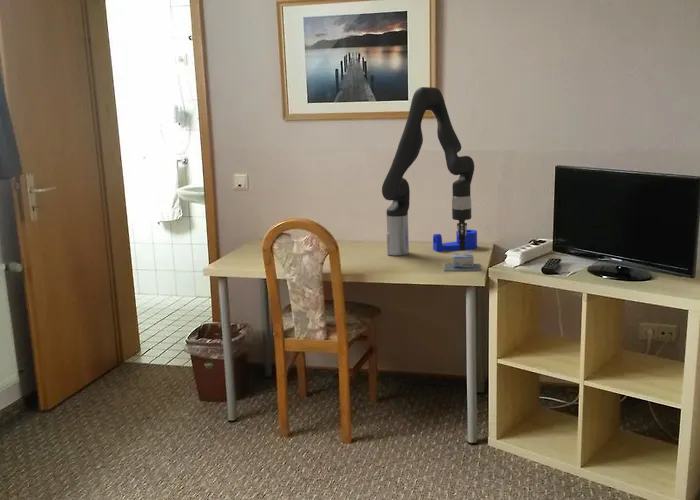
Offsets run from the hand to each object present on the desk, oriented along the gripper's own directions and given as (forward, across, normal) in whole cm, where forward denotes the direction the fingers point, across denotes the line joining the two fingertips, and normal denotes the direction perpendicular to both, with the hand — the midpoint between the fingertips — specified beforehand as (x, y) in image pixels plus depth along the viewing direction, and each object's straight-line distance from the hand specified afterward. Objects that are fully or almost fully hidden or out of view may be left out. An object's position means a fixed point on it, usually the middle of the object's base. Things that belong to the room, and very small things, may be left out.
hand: (462, 249), depth 286 cm
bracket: (+7, -33, -3) cm, 34 cm away
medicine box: (+4, -3, 0) cm, 5 cm away
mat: (+6, +4, 0) cm, 7 cm away
